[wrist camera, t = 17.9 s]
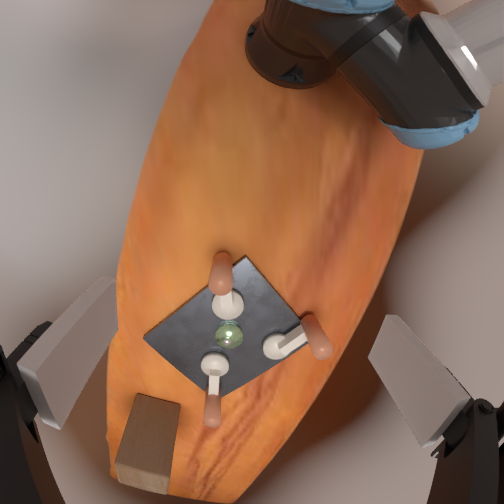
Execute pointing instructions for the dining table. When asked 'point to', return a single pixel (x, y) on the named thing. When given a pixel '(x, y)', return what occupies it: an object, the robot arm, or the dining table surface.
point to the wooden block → (148, 444)
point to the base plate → (226, 331)
